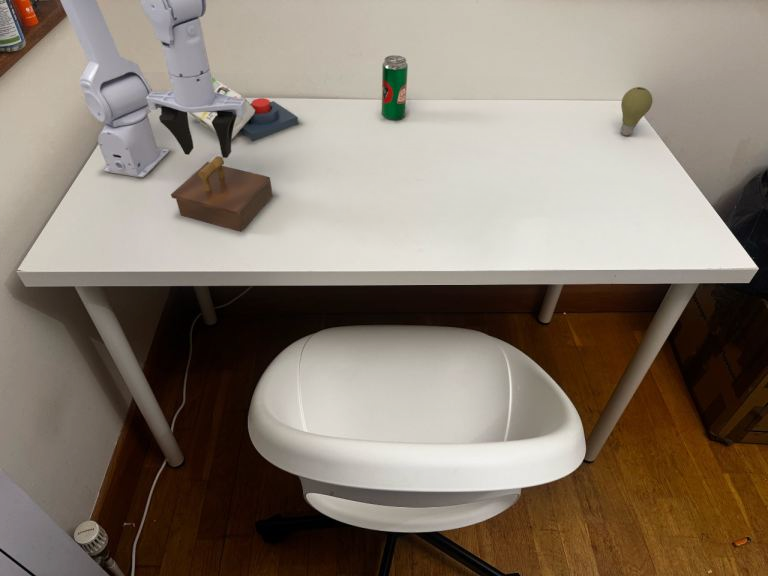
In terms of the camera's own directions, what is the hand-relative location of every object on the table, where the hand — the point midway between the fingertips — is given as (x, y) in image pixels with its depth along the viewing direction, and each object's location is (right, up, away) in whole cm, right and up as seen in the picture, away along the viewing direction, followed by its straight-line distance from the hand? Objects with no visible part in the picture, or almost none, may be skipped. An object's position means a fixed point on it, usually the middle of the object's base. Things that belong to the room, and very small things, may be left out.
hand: (208, 152), depth 90 cm
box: (+3, +12, +27) cm, 30 cm away
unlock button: (+3, +15, +25) cm, 29 cm away
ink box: (-9, +17, +26) cm, 32 cm away
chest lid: (+1, -5, +4) cm, 7 cm away
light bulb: (+78, +10, +26) cm, 83 cm away
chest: (+1, -7, +7) cm, 10 cm away
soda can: (+30, +15, +31) cm, 46 cm away
